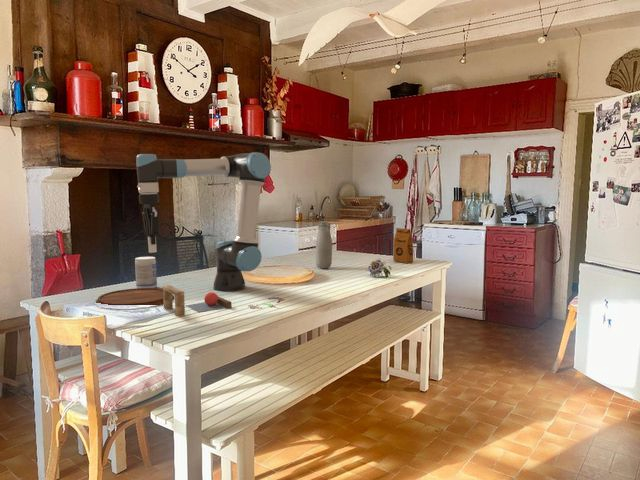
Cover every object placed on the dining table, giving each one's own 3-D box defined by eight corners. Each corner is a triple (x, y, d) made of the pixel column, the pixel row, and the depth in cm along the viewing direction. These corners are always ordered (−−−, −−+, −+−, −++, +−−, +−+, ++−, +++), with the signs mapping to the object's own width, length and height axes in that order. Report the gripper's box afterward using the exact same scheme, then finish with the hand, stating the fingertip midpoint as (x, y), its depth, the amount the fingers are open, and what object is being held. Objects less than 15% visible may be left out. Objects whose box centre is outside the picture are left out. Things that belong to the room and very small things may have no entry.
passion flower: (373, 287, 264) (361, 268, 265) (382, 280, 273) (370, 262, 274) (388, 277, 257) (375, 259, 258) (397, 271, 266) (384, 253, 267)
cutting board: (181, 304, 205) (181, 298, 204) (99, 314, 189) (98, 308, 189) (165, 290, 232) (165, 284, 232) (91, 297, 216) (91, 292, 216)
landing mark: (214, 301, 209) (214, 300, 209) (228, 307, 199) (228, 306, 199) (185, 305, 201) (185, 305, 201) (198, 312, 191) (198, 311, 191)
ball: (215, 291, 205) (202, 291, 201) (221, 293, 200) (209, 293, 197) (213, 304, 205) (201, 304, 201) (219, 307, 201) (207, 307, 197)
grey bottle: (315, 270, 285) (316, 222, 281) (315, 267, 295) (315, 221, 291) (332, 270, 285) (333, 222, 282) (331, 267, 295) (332, 221, 292)
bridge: (170, 307, 198) (170, 285, 197) (184, 315, 186) (184, 291, 185) (163, 308, 196) (162, 286, 195) (177, 316, 185) (176, 292, 184)
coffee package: (405, 264, 306) (406, 229, 304) (391, 261, 316) (391, 228, 313) (415, 262, 313) (416, 228, 310) (401, 260, 322) (401, 227, 320)
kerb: (214, 300, 210) (214, 294, 210) (231, 307, 198) (231, 301, 197) (210, 301, 209) (209, 295, 209) (227, 308, 196) (226, 302, 196)
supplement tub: (158, 288, 233) (157, 258, 231) (137, 290, 229) (136, 259, 227) (155, 285, 241) (154, 255, 240) (135, 286, 237) (134, 257, 236)
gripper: (133, 193, 195) (137, 251, 198) (145, 194, 185) (149, 255, 188) (152, 192, 200) (155, 249, 203) (164, 193, 190) (168, 253, 193)
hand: (152, 252), depth 196 cm, fingers closed
